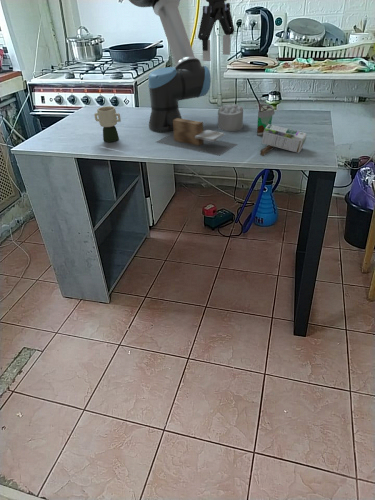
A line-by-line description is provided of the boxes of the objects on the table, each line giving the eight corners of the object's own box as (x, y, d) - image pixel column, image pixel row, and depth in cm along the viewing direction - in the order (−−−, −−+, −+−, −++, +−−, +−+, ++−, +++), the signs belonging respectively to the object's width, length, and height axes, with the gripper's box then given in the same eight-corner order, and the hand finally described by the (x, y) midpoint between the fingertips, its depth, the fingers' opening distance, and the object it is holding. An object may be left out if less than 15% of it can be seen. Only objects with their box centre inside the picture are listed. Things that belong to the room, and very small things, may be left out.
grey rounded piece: (243, 122, 169) (243, 102, 164) (241, 132, 158) (242, 110, 153) (219, 122, 170) (219, 102, 165) (216, 132, 160) (216, 111, 155)
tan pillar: (170, 142, 151) (168, 121, 146) (182, 136, 156) (181, 116, 152) (213, 151, 141) (213, 129, 136) (224, 144, 146) (224, 123, 142)
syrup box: (268, 123, 141) (307, 132, 137) (265, 138, 145) (303, 147, 141) (263, 128, 137) (304, 138, 133) (260, 144, 141) (299, 153, 137)
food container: (272, 138, 150) (274, 112, 145) (256, 138, 152) (258, 112, 146) (273, 128, 160) (275, 103, 154) (258, 128, 161) (259, 103, 156)
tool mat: (155, 143, 152) (155, 142, 152) (174, 133, 161) (174, 132, 161) (219, 156, 138) (219, 155, 137) (237, 145, 146) (237, 144, 146)
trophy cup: (127, 138, 159) (122, 106, 151) (120, 144, 153) (115, 111, 146) (102, 137, 161) (97, 105, 154) (95, 143, 156) (89, 110, 148)
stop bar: (260, 154, 137) (260, 150, 136) (274, 144, 145) (274, 140, 144) (263, 155, 137) (263, 151, 136) (277, 144, 144) (277, 140, 144)
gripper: (205, -12, 118) (206, 64, 130) (244, -15, 134) (242, 52, 146) (185, -11, 122) (188, 62, 134) (226, -14, 138) (225, 51, 150)
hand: (217, 57), depth 140 cm, fingers open, 13 cm apart
